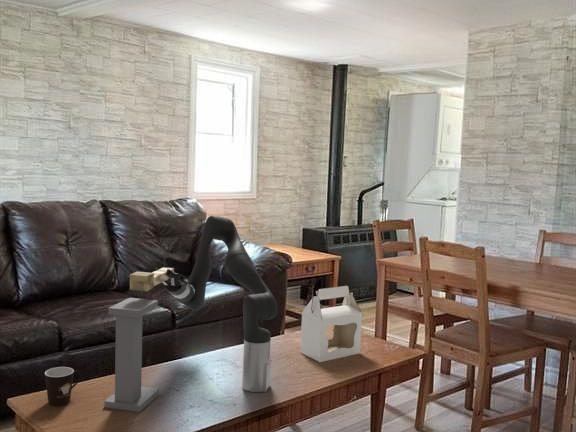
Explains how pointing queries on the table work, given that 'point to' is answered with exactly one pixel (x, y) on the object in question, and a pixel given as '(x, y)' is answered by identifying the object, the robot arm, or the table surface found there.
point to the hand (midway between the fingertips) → (161, 271)
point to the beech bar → (148, 279)
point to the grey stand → (130, 356)
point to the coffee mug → (60, 385)
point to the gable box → (321, 319)
